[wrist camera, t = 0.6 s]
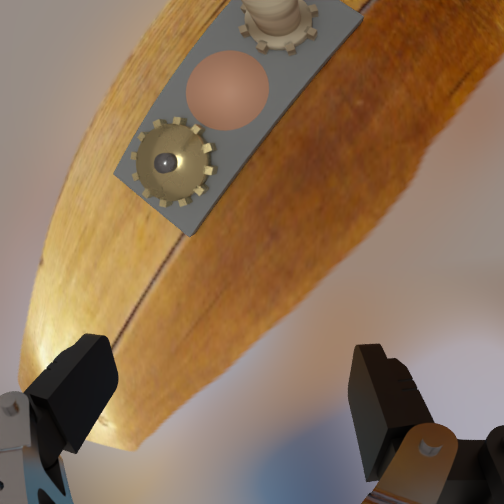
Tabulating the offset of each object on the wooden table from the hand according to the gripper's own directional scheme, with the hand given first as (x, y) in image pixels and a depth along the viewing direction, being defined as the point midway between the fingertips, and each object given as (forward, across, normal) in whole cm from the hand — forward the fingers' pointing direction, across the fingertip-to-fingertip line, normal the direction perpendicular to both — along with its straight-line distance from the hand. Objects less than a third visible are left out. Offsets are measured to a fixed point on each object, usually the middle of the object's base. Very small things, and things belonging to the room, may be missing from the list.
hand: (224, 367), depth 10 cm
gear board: (+26, +3, -13) cm, 29 cm away
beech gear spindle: (+23, -2, -20) cm, 31 cm away
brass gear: (+25, +9, -6) cm, 27 cm away
